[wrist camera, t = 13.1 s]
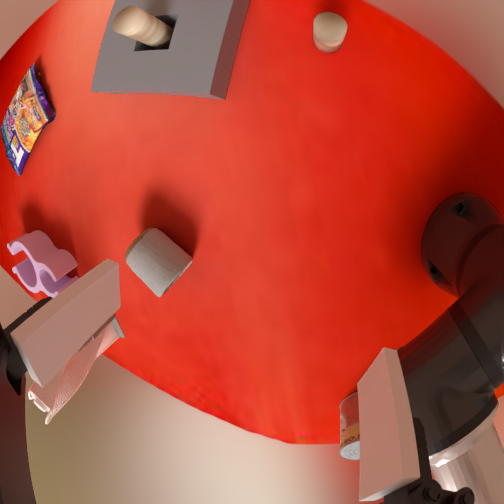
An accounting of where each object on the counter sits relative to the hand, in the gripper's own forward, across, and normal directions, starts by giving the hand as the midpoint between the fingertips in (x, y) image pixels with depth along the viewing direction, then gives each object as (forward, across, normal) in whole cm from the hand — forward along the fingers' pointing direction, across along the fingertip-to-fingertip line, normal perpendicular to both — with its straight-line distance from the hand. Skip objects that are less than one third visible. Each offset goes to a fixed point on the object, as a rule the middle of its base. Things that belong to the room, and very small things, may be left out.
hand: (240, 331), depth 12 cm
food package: (+25, +58, -6) cm, 63 cm away
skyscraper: (+26, +30, +36) cm, 54 cm away
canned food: (+27, -29, +36) cm, 53 cm away
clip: (+25, +47, +24) cm, 59 cm away
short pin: (+26, 0, -22) cm, 34 cm away
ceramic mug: (+26, +16, +14) cm, 34 cm away
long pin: (+25, +21, -19) cm, 38 cm away
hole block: (+25, +20, -19) cm, 38 cm away
